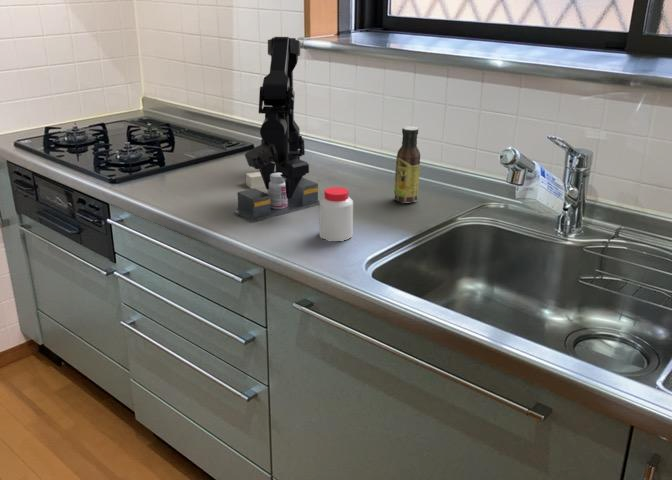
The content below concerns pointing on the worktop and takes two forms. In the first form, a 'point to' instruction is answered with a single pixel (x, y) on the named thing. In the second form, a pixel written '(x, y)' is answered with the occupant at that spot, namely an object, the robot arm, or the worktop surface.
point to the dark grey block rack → (258, 203)
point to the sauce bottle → (407, 167)
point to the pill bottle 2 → (336, 214)
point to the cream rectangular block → (254, 180)
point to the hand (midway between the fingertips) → (278, 193)
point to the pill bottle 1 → (277, 191)
